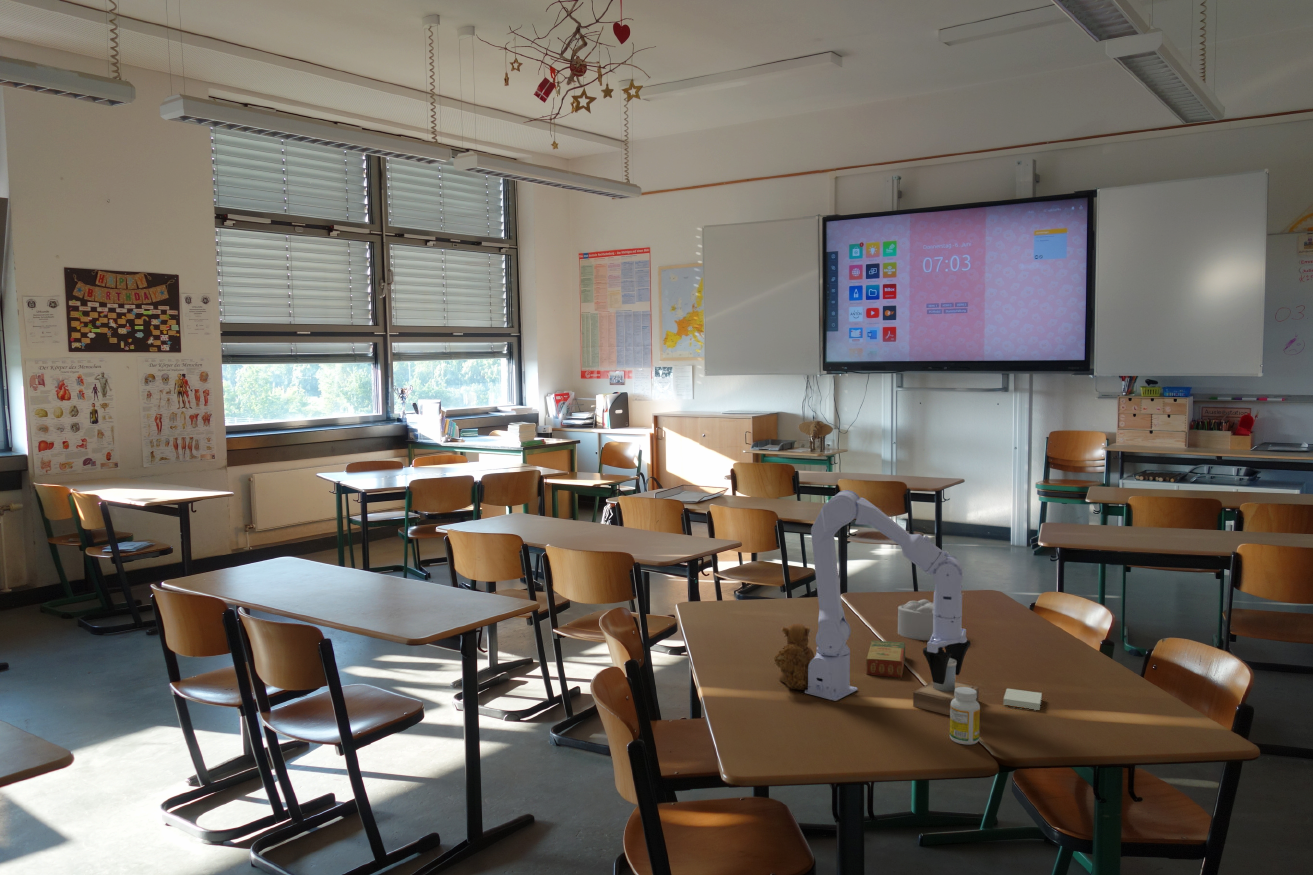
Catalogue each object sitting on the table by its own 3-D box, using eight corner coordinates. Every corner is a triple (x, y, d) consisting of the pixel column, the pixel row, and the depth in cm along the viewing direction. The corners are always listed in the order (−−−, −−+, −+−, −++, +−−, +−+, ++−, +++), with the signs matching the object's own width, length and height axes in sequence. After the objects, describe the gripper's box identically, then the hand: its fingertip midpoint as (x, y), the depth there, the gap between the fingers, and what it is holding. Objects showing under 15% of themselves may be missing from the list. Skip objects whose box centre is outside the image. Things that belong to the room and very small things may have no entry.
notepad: (1039, 712, 192) (1039, 703, 192) (1003, 707, 195) (1003, 698, 195) (1041, 701, 198) (1041, 692, 198) (1006, 697, 201) (1006, 688, 201)
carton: (865, 675, 216) (865, 657, 215) (870, 655, 231) (870, 638, 231) (902, 678, 213) (902, 660, 213) (905, 658, 229) (905, 641, 228)
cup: (949, 693, 193) (950, 665, 193) (928, 688, 196) (929, 660, 196) (959, 687, 197) (960, 660, 196) (938, 682, 200) (939, 655, 199)
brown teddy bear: (824, 676, 214) (824, 620, 213) (815, 696, 201) (815, 637, 200) (781, 672, 217) (781, 617, 217) (769, 692, 204) (769, 633, 203)
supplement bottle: (956, 745, 174) (957, 695, 174) (945, 734, 180) (945, 686, 179) (984, 744, 175) (985, 694, 174) (971, 733, 180) (972, 685, 179)
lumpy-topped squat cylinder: (949, 641, 241) (949, 609, 240) (897, 638, 245) (897, 605, 244) (947, 631, 251) (948, 599, 250) (898, 627, 255) (898, 596, 254)
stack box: (954, 716, 189) (954, 701, 189) (913, 706, 195) (913, 691, 195) (978, 700, 198) (978, 686, 198) (938, 691, 204) (938, 677, 204)
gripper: (950, 625, 187) (949, 691, 188) (980, 611, 198) (979, 673, 199) (918, 619, 192) (917, 683, 193) (948, 605, 202) (947, 666, 203)
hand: (946, 678), depth 196 cm, fingers open, 7 cm apart
